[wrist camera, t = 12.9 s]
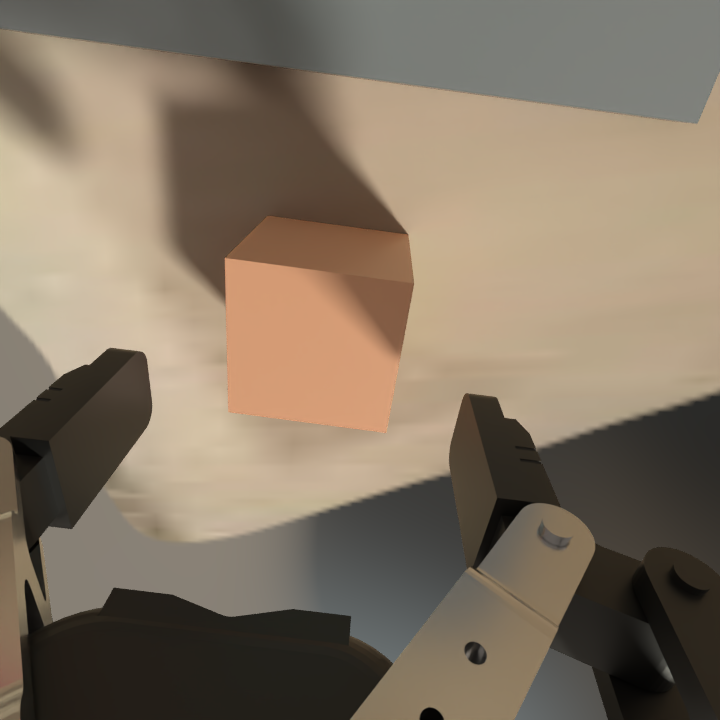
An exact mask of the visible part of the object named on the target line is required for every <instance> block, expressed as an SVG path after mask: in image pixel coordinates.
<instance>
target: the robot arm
mask: <svg viewBox="0 0 720 720" xmlns="http://www.w3.org/2000/svg"><path fill="white" fill-rule="evenodd" d="M151 413H152V398H151V390H150V382H149V373H148V365H147V359H146V356H145V354H144V353H143V352H140V351H132V350H124V349H116V348H109V349H107V350H106V351H105V352H104V353H103V354H102V355H100V356H99V357H98V358H97V359H96V360H95V361H94V362H93V363H91V364H90V365H83V366H81V367H79V368H77V369H75V370H72V371H70V372H68V373H66V374H64V375H63V376H61V377H60V378H59V379H58V380H57V381H55V382H54V383H53V384H52V385H51V386H50V387H49V390H45V391H44V392H43V393H41V394H40V395H39V396H38V397H37V399H36V400H33V401H32V402H31V403H29V404H28V405H27V406H26V407H25V408H24V409H22V410H21V411H20V412H19V413H18V414H17V415H15V416H14V417H13V418H12V419H11V420H9V421H8V422H7V423H6V424H5V425H3V426H2V427H1V428H0V720H514V719H515V717H516V715H517V713H518V711H519V709H520V707H521V705H522V703H523V700H524V699H525V697H526V694H527V692H528V690H529V688H530V686H531V684H532V682H533V680H534V678H535V676H536V674H537V672H538V670H539V668H540V665H541V664H542V662H543V659H544V657H545V655H546V653H547V651H548V649H549V648H552V649H554V650H556V651H558V652H561V653H563V654H565V655H567V656H570V657H572V658H574V659H576V660H579V661H581V662H583V663H585V664H588V665H590V666H592V669H593V672H594V675H595V679H596V682H597V685H598V688H599V692H600V695H601V698H602V702H603V705H604V708H605V711H606V714H607V718H608V720H720V576H719V575H718V574H717V573H716V572H715V571H714V570H713V569H711V568H710V567H709V566H707V565H706V564H705V563H703V562H702V561H700V560H699V559H697V558H695V557H693V556H692V555H689V554H687V553H685V552H683V551H679V550H677V549H672V548H666V547H657V548H653V549H651V550H649V551H648V552H647V554H646V555H645V556H644V558H643V560H642V561H638V560H636V559H633V558H631V557H628V556H625V555H623V554H620V553H617V552H615V551H612V550H609V549H607V548H604V547H601V546H600V545H597V544H596V543H595V542H594V538H593V536H592V534H591V532H590V531H589V529H588V528H587V527H586V525H585V524H584V523H583V522H582V521H581V520H580V519H578V518H577V517H576V516H574V515H573V514H571V513H570V512H568V511H566V510H564V509H562V508H561V507H560V504H559V502H558V499H557V497H556V495H555V492H554V490H553V488H552V485H551V483H550V481H549V478H548V476H547V474H546V471H545V469H544V467H543V464H541V460H540V457H539V455H538V452H536V448H535V445H534V443H533V441H532V438H531V436H530V434H529V433H528V432H527V431H526V430H525V429H524V428H523V427H522V425H521V424H520V423H519V422H518V421H517V420H516V419H508V418H504V415H503V412H502V410H501V407H500V404H499V402H498V399H497V398H496V397H492V396H484V395H476V394H468V393H466V394H465V395H464V397H463V400H462V403H461V407H460V411H459V414H458V418H457V422H456V426H455V429H454V433H453V437H452V441H451V445H450V453H449V466H450V472H451V478H452V484H453V489H454V496H455V501H456V507H457V513H458V519H459V525H460V530H461V537H462V543H463V549H464V554H465V560H466V566H467V570H466V571H465V572H464V574H463V575H462V576H461V577H460V579H459V580H458V581H457V582H456V584H455V585H454V586H453V588H452V589H451V590H450V592H449V593H448V594H447V595H446V597H445V598H444V599H443V601H442V602H441V603H440V605H439V606H438V607H437V608H436V610H435V611H434V612H433V613H432V615H431V616H430V617H429V619H428V620H427V621H426V622H425V624H424V625H423V626H422V628H421V629H420V630H419V631H418V633H417V634H416V635H415V637H414V638H413V639H412V641H411V642H410V643H409V644H408V646H407V647H406V648H405V650H404V651H403V652H402V653H401V655H400V656H399V657H398V659H397V660H396V661H395V662H394V664H393V663H392V662H391V661H390V660H389V659H388V658H386V657H385V656H384V655H383V654H381V653H380V652H379V651H377V650H376V649H374V648H373V647H371V646H370V645H368V644H366V643H364V642H363V641H361V640H359V639H356V638H354V637H352V636H350V621H351V616H345V615H337V614H329V613H320V612H312V611H303V610H295V609H291V610H283V611H275V612H267V613H260V614H252V615H244V616H236V617H227V616H223V615H220V614H218V613H216V612H213V611H211V610H208V609H206V608H203V607H201V606H198V605H196V604H194V603H191V602H189V601H186V600H184V599H181V598H179V597H177V596H174V595H170V594H161V593H154V592H145V591H137V590H129V589H120V588H113V590H112V592H111V594H110V596H109V597H108V599H107V601H106V603H105V604H104V606H103V608H97V609H92V610H88V611H84V612H80V613H77V614H74V615H71V616H68V617H65V618H62V619H60V620H58V621H55V622H53V618H52V613H51V605H50V597H49V589H48V582H47V574H46V566H45V558H44V551H43V545H42V541H41V538H40V536H41V535H42V534H43V533H44V531H45V530H46V529H47V528H48V526H51V527H59V528H68V529H72V528H73V527H74V525H75V524H76V523H77V521H78V520H79V519H80V517H81V516H82V515H83V513H84V512H85V511H86V509H87V508H88V506H89V505H90V504H91V502H92V501H93V500H94V498H95V497H96V496H97V494H98V493H99V492H100V490H101V489H102V487H103V486H104V485H105V483H106V482H107V481H108V479H109V478H110V477H111V475H112V474H113V473H114V471H115V470H116V468H117V467H118V466H119V464H120V463H121V462H122V460H123V459H124V458H125V456H126V455H127V454H128V452H129V451H130V449H131V448H132V447H133V445H134V444H135V443H136V441H137V440H138V439H139V437H140V436H141V435H142V433H143V432H144V430H145V429H146V428H147V426H148V424H149V421H150V418H151Z"/></svg>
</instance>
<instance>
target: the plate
mask: <svg viewBox="0 0 720 720" xmlns="http://www.w3.org/2000/svg"><path fill="white" fill-rule="evenodd" d="M0 29H6V30H12V31H18V32H24V33H31V34H38V35H46V36H53V37H60V38H67V39H75V40H82V41H89V42H97V43H104V44H111V45H119V46H126V47H133V48H141V49H148V50H155V51H163V52H170V53H177V54H185V55H192V56H199V57H207V58H214V59H221V60H229V61H236V62H243V63H251V64H258V65H265V66H273V67H280V68H287V69H295V70H302V71H309V72H317V73H324V74H331V75H339V76H346V77H353V78H360V79H368V80H375V81H382V82H390V83H397V84H404V85H412V86H419V87H426V88H434V89H441V90H448V91H456V92H463V93H470V94H478V95H485V96H492V97H500V98H507V99H514V100H522V101H529V102H536V103H544V104H551V105H558V106H566V107H573V108H580V109H588V110H595V111H602V112H610V113H617V114H624V115H632V116H639V117H646V118H653V119H661V120H668V121H676V122H686V123H696V124H697V123H698V121H699V119H700V116H701V114H702V112H703V109H704V107H705V105H706V102H707V100H708V98H709V95H710V93H711V90H712V88H713V86H714V83H715V81H716V79H717V76H718V74H719V72H720V0H0Z"/></svg>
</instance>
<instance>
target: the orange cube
mask: <svg viewBox="0 0 720 720" xmlns="http://www.w3.org/2000/svg"><path fill="white" fill-rule="evenodd" d="M413 286H414V279H413V270H412V262H411V253H410V245H409V237H408V234H400V233H393V232H386V231H378V230H371V229H363V228H356V227H349V226H341V225H334V224H326V223H319V222H311V221H304V220H297V219H289V218H282V217H274V216H267V217H266V218H265V219H264V220H263V221H262V222H261V223H260V224H259V225H258V226H257V227H256V228H255V229H254V230H253V231H252V232H251V233H250V234H249V235H248V236H247V237H245V238H244V239H243V240H242V241H241V242H240V243H239V244H238V245H237V246H236V247H235V248H234V249H233V250H232V251H231V252H230V253H229V254H228V255H227V256H226V257H225V288H226V329H227V370H228V411H229V412H232V413H240V414H247V415H255V416H262V417H270V418H278V419H285V420H293V421H300V422H308V423H316V424H323V425H331V426H338V427H346V428H353V429H361V430H369V431H376V432H384V433H386V431H387V426H388V421H389V415H390V410H391V404H392V399H393V394H394V388H395V383H396V378H397V372H398V367H399V362H400V356H401V351H402V345H403V340H404V335H405V329H406V324H407V319H408V313H409V308H410V303H411V297H412V292H413Z"/></svg>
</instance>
